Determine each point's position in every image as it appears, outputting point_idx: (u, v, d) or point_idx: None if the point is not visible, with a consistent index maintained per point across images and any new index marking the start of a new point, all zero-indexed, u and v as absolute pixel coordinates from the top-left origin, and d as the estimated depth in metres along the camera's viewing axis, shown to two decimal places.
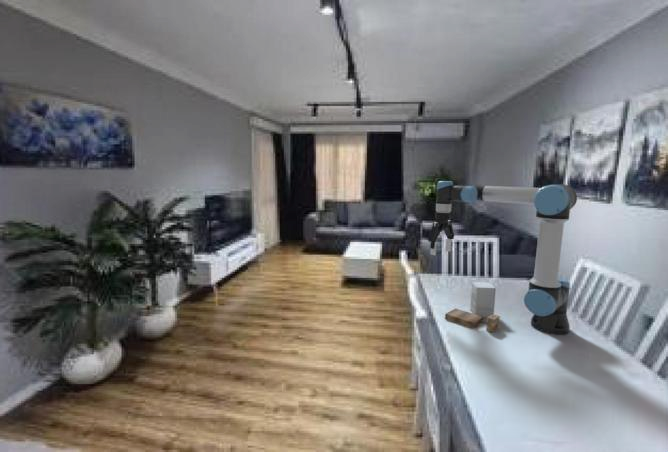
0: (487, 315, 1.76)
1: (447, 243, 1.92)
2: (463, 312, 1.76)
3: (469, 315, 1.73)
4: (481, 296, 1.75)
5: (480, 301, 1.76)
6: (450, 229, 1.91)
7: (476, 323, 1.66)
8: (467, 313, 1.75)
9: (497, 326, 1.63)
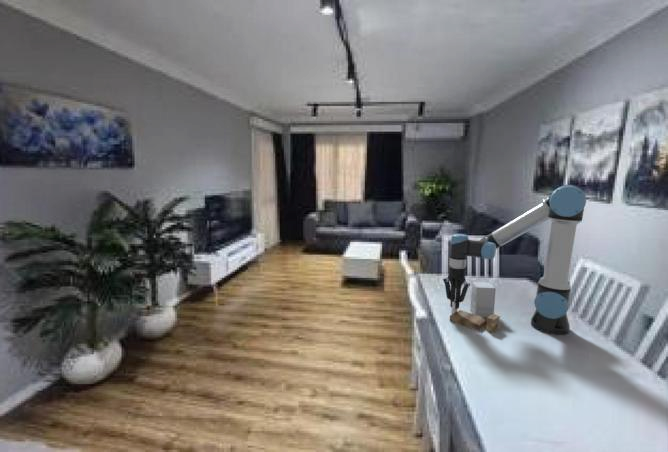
0: (487, 315, 1.76)
1: None
2: (468, 314, 1.74)
3: (474, 316, 1.71)
4: (481, 296, 1.75)
5: (480, 301, 1.76)
6: None
7: (481, 325, 1.64)
8: (471, 315, 1.72)
9: (497, 326, 1.63)
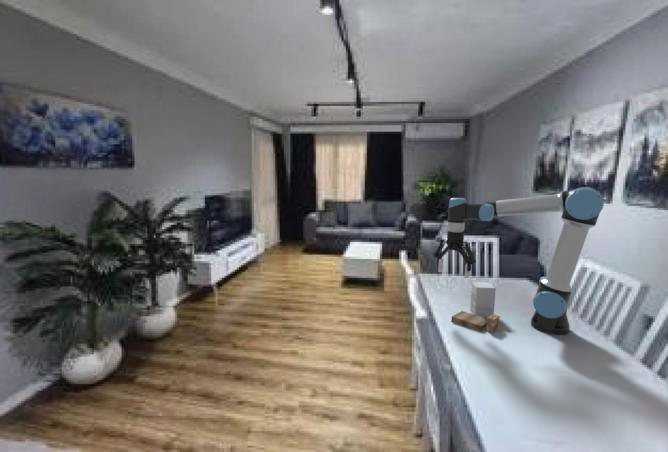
0: (487, 315, 1.76)
1: None
2: (470, 315, 1.73)
3: (476, 317, 1.70)
4: (481, 296, 1.75)
5: (480, 301, 1.76)
6: None
7: (483, 326, 1.63)
8: (474, 316, 1.72)
9: (497, 326, 1.63)
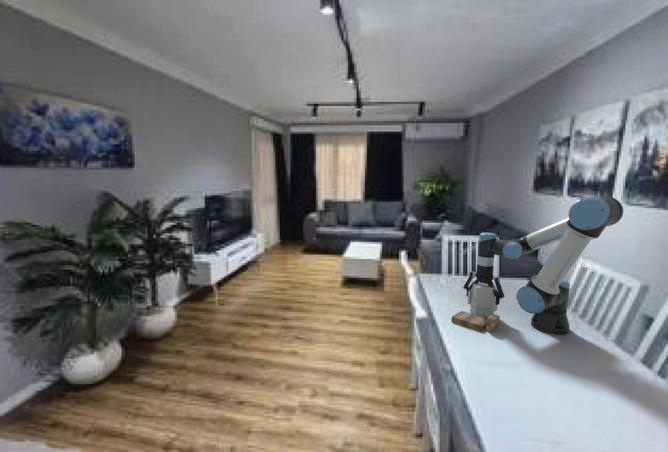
0: (487, 315, 1.77)
1: None
2: (470, 315, 1.73)
3: (476, 317, 1.70)
4: (481, 296, 1.75)
5: (480, 301, 1.76)
6: None
7: (484, 326, 1.63)
8: (473, 316, 1.72)
9: (497, 326, 1.63)
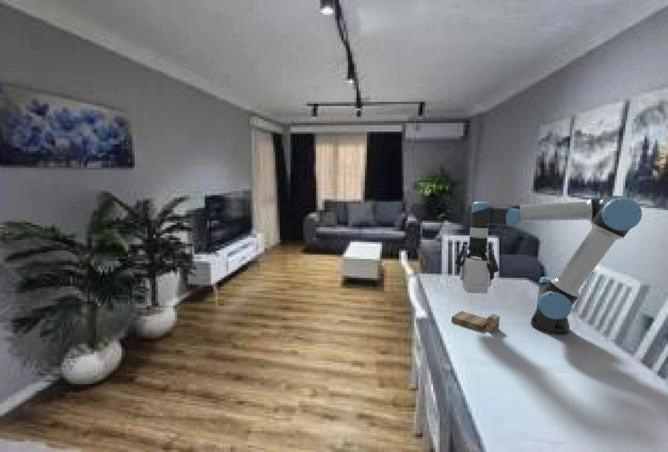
0: (480, 291, 1.63)
1: None
2: (469, 315, 1.73)
3: (476, 317, 1.70)
4: (474, 270, 1.62)
5: (473, 276, 1.62)
6: None
7: (484, 326, 1.63)
8: (473, 316, 1.72)
9: (497, 326, 1.63)
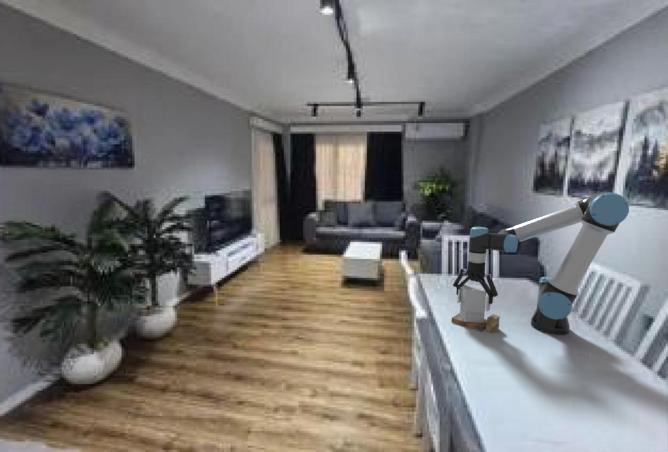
0: (477, 320, 1.65)
1: None
2: None
3: None
4: (471, 300, 1.64)
5: (469, 305, 1.65)
6: None
7: (484, 327, 1.64)
8: None
9: (497, 326, 1.63)
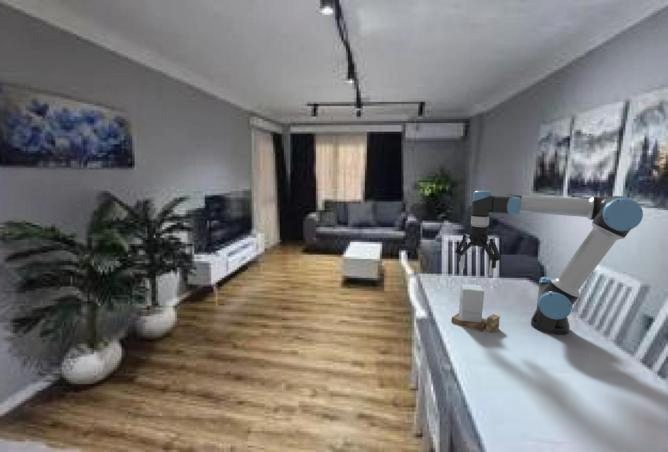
0: (474, 320, 1.65)
1: None
2: None
3: None
4: (468, 299, 1.64)
5: (467, 304, 1.65)
6: None
7: (484, 327, 1.63)
8: None
9: (497, 326, 1.63)
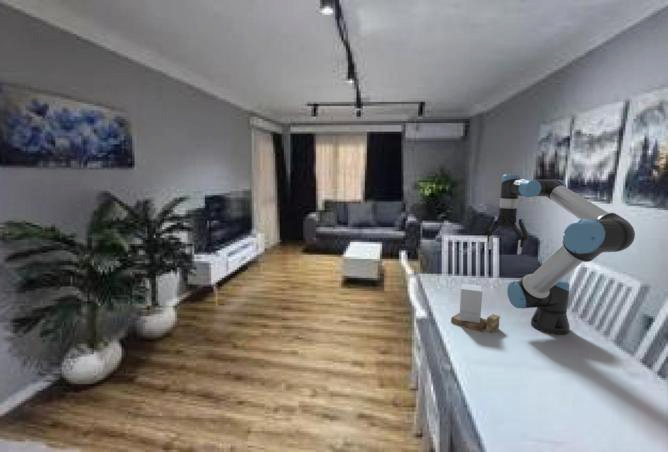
0: (473, 320, 1.65)
1: None
2: None
3: None
4: (466, 299, 1.65)
5: (465, 304, 1.65)
6: None
7: (483, 327, 1.63)
8: None
9: (497, 326, 1.63)
